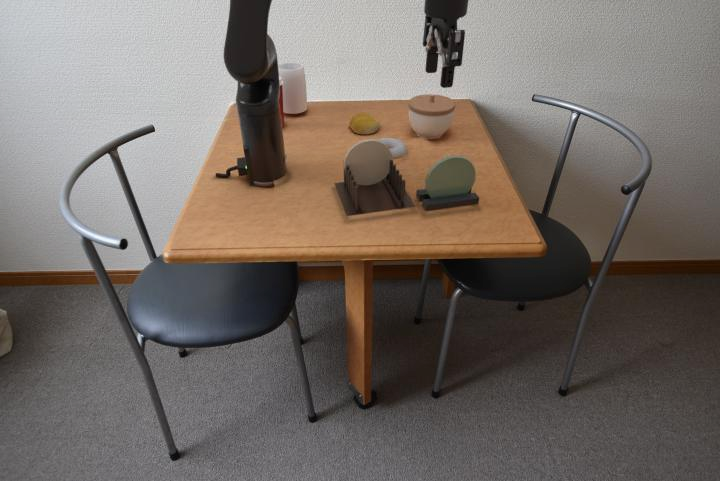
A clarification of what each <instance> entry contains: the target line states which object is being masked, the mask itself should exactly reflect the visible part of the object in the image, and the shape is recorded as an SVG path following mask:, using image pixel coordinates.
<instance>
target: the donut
mask: <svg viewBox="0 0 720 481" xmlns="http://www.w3.org/2000/svg"><path fill="white" fill-rule="evenodd" d="M376 140H379V141H381V142H383V143H385V144H386V145H387V146H388V148H389V149H390V151H391V153H392V157H393V160H397V159H400V158H403V157H404V156H406V155H407V153H408V146H407V144H406V143H405V142H404V141H402V140H401V139H398V138H395V137H381V138H377V139H376Z"/></svg>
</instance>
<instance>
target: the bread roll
mask: <svg viewBox="0 0 720 481" xmlns="http://www.w3.org/2000/svg"><path fill="white" fill-rule="evenodd" d="M348 125H349V128H350V129H351V130H352V131H353V132H354V133H355V134H358V135H371V134H374V133H376V132H377V131H378V130H379V128H380V122H379V121H378V120H377V119H376V118H375V117H374V116H373V115H372V114H370V113H367V112H360V113H359V112H358V113H356V114H354V115H353V116H352V117H351V118H350V119H349V122H348Z"/></svg>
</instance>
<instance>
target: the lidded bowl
mask: <svg viewBox="0 0 720 481" xmlns="http://www.w3.org/2000/svg"><path fill="white" fill-rule="evenodd" d="M407 105H408V120H409V125H410V127H411V129H412V130H413V131H414V132H415V133H416V135H417V137H418V138H424V139H426V140H436V139H439V138H441V137H442V135H443V134H446V132H447V131H448V130H449V129H450V127H451V125H452V123H453V120H454V116H455V108H456V101H454V99H453V98H450V97H449V96H445V95H440V94H431V93H430V94H419V95H416V96H413V97H411V98H409V100H408V104H407Z"/></svg>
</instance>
